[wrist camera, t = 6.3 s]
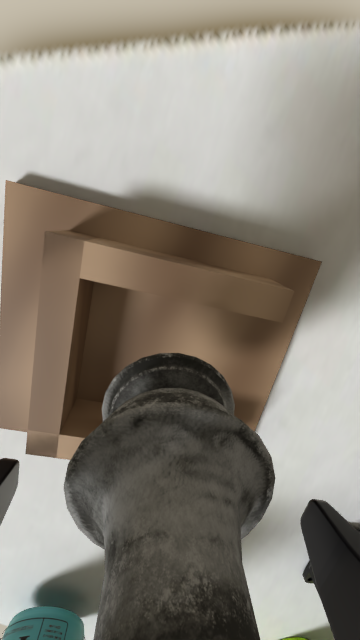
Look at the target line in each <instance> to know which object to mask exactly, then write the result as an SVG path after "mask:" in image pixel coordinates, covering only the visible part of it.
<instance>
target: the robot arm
mask: <svg viewBox="0 0 360 640" xmlns="http://www.w3.org/2000/svg"><path fill="white" fill-rule="evenodd" d="M18 475H19V461H18V460H15V459H8V458H3V459H0V525H1V523H2V521H3V518H4V516H5V514H6V512H7V510H8V507H9V505H10V503H11V501H12V498H13V496H14V494H15V491H16V489H17V485H18ZM301 529H302V533H303V536H304V540H305V544H306V548H307V551H308V555H309V559H310V562H309V564H308V566H307V567H306V569H305V571H304V573H303V577H304V580H305V582H306V583H314V584H315V587H316V589H317V591H318V594H319V596H320V599H321V601H322V604H323V607H324V610H325V612H326V615H327V618H328V621H329V624H330V627H331V630H332V633H333V636H334V638H335V640H360V530H358V529H355V528H354V527H353V526H352V525H351V524H350V523H349V522H348V521H347V520H345V519H344V518H343V517H342V516H341V515H340V514H339V513H338V512H337V511H336V510H335V509H334V508H333V507H332V506H331V505H329V504H328V503H327V502H326V501H323V500H317V499H312V500H310V502H309V503H308V505H307V507H306V509H305V511H304V513H303V515H302V517H301Z"/></svg>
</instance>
